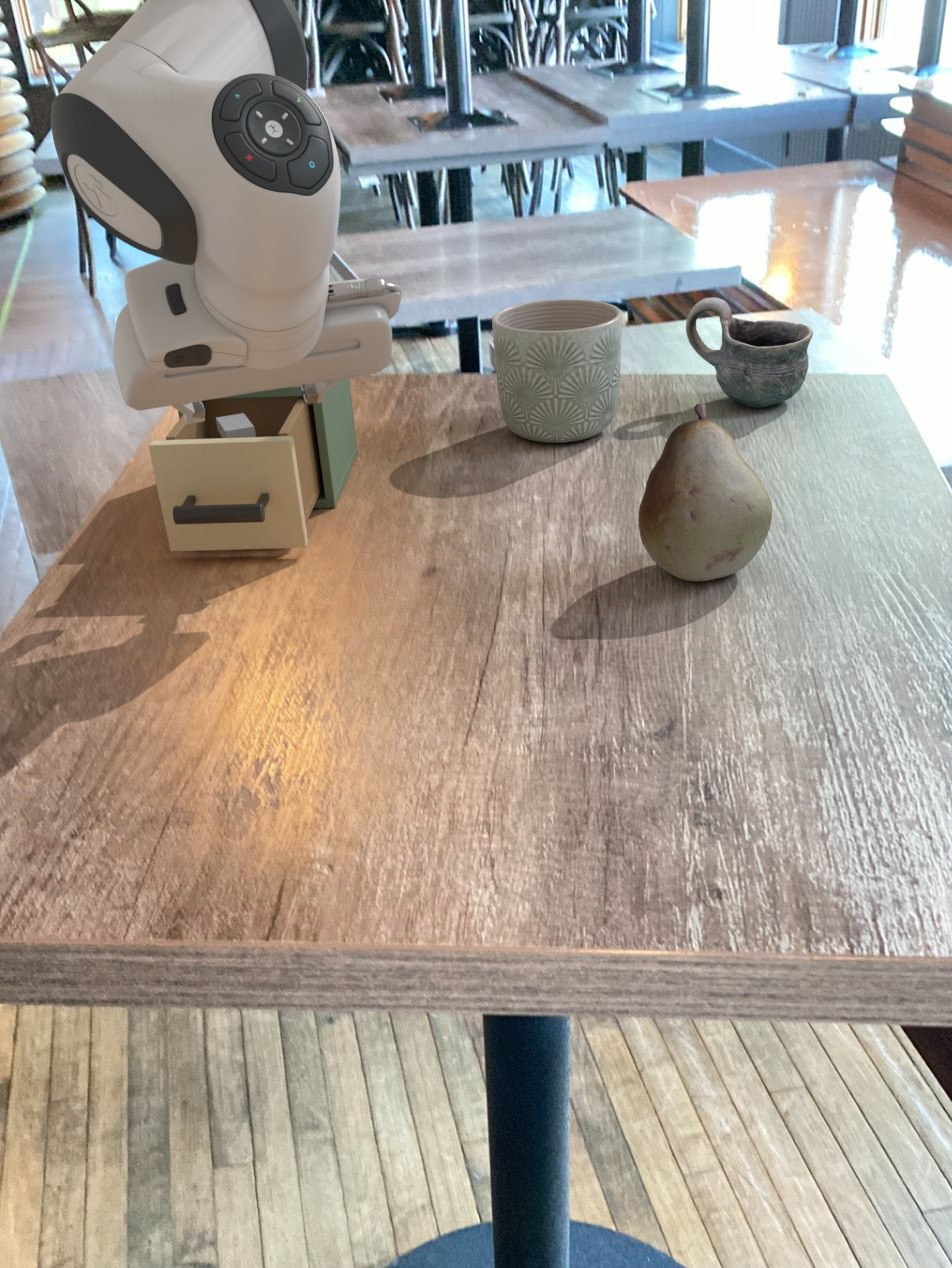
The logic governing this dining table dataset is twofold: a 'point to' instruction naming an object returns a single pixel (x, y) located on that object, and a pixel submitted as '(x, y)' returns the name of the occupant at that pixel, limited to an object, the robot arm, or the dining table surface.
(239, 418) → the blue upright block
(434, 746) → the dining table surface
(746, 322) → the mug
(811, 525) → the dining table surface
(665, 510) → the fruit
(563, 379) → the planter
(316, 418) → the cabinet
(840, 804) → the dining table surface
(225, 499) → the drawer
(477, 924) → the dining table surface
